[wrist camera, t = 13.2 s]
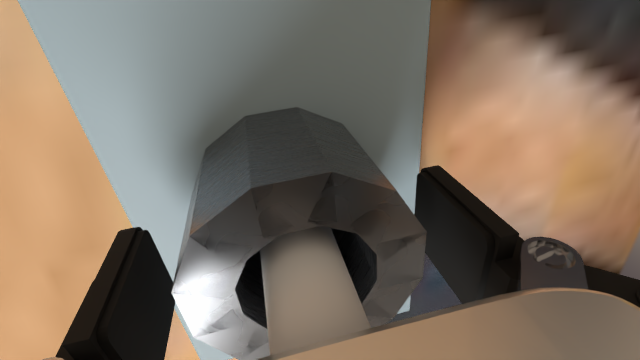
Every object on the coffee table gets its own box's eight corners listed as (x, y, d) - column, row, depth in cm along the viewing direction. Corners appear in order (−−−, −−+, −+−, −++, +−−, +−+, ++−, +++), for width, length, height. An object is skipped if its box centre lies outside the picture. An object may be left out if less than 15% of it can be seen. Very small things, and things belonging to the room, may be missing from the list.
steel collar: (364, 94, 12) (434, 150, 8) (369, 237, 16) (418, 328, 12) (169, 128, 11) (129, 212, 7) (222, 272, 15) (217, 384, 11)
